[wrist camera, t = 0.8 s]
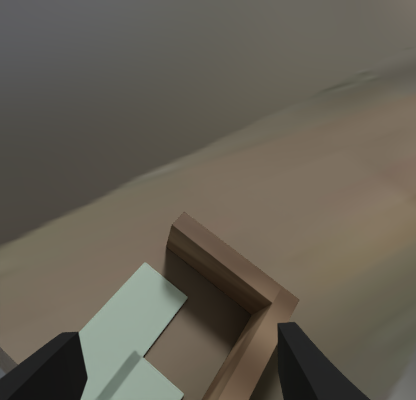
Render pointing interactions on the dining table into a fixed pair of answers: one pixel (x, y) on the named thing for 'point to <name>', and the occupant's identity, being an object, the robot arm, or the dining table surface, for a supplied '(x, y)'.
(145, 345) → the pose pad
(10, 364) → the bracket
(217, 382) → the corner fence
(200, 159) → the dining table surface
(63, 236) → the dining table surface
